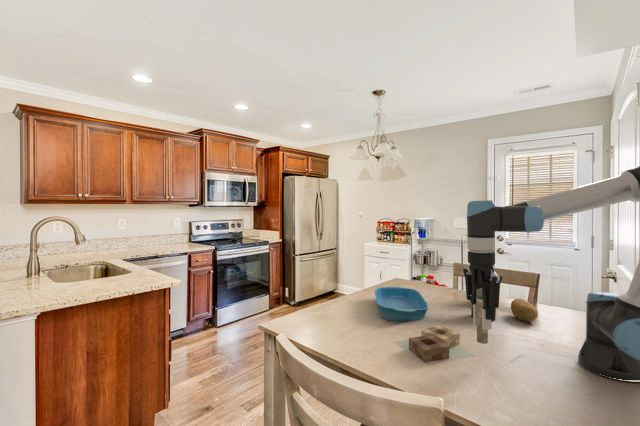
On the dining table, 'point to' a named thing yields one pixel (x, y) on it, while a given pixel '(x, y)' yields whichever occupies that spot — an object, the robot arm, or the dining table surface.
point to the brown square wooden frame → (428, 348)
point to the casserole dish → (400, 304)
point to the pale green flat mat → (453, 354)
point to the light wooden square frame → (443, 335)
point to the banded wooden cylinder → (480, 318)
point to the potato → (524, 310)
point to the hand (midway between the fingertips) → (482, 326)
